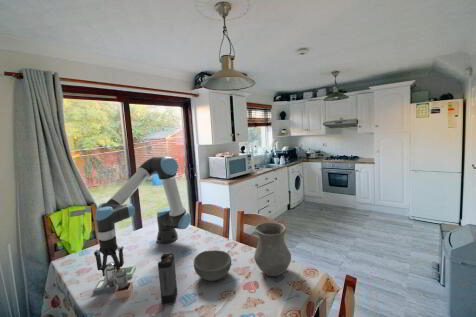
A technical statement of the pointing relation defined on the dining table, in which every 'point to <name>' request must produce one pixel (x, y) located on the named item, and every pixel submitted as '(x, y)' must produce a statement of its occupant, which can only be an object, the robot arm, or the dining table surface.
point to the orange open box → (124, 292)
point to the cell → (111, 274)
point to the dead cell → (122, 279)
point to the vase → (272, 249)
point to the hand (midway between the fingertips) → (112, 280)
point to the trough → (129, 271)
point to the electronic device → (167, 279)
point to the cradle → (103, 287)
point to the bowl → (212, 264)
